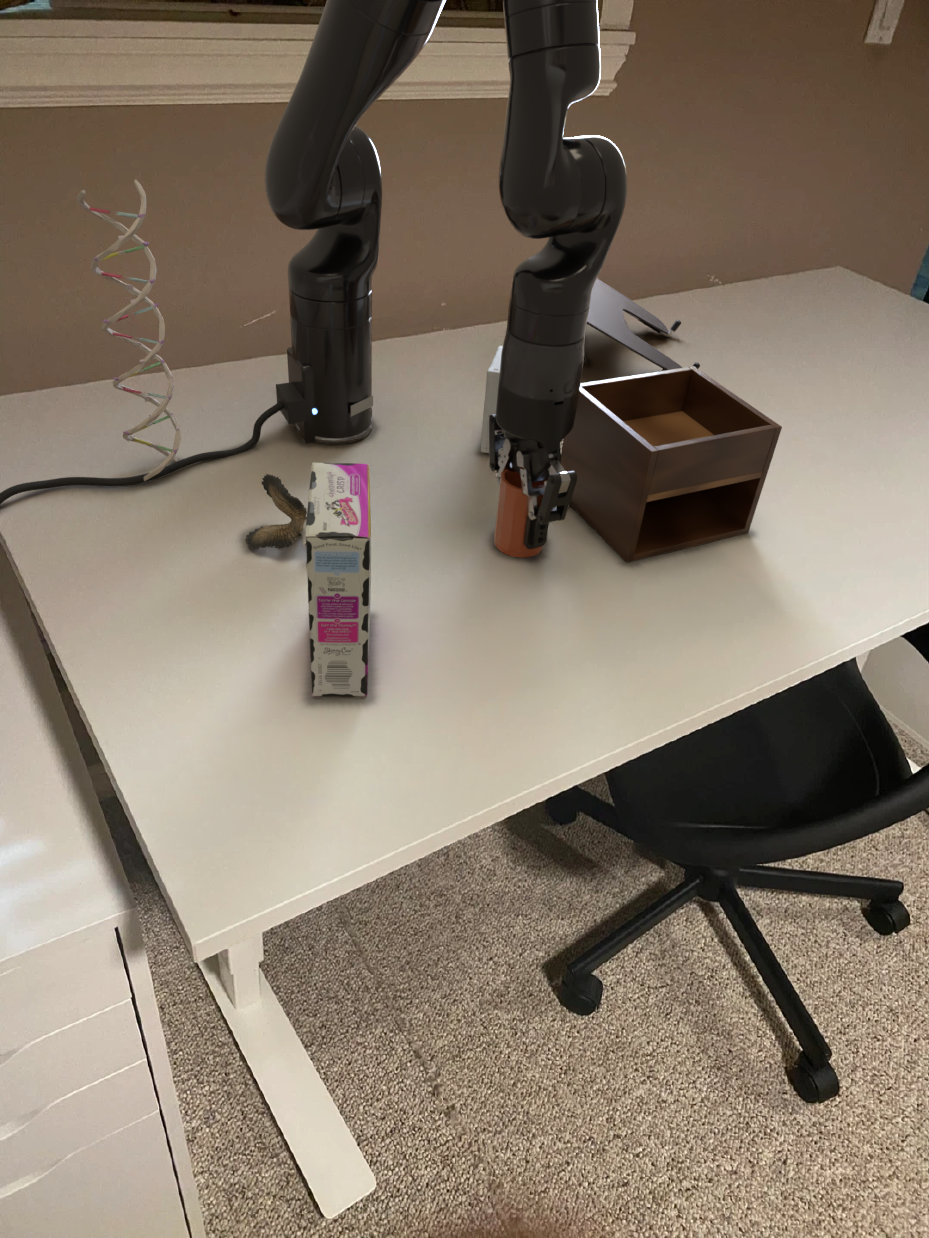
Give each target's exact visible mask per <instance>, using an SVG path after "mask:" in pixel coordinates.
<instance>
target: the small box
mask: <svg viewBox="0 0 929 1238" xmlns="http://www.w3.org/2000/svg"><path fill="white" fill-rule="evenodd" d="M496 348H497V349H496V351H495V354H494V356H493V359H492V361H491V364H490V366H489V368H488V369H487V371H486V379H485V380H486V381H485V392H484V393H485V394H484V403H483V414H482V415H483V416H482V427H481V440H480V452H481V453H485V454H489V416H490V415H493V414H496V405H497V394H498V384H499V374H500V363H501V354H502V348H503V345H498V346H497V347H496ZM503 449H504V448H501V449H499V452H498V456H501V454H502V451H503Z"/></svg>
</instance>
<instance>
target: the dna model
mask: <svg viewBox="0 0 929 1238" xmlns="http://www.w3.org/2000/svg"><path fill="white" fill-rule="evenodd" d="M133 184H134V186H135V188H136V189H135V190H137V192H138V193H137V194H138V195H139V197H140V203H141V204H140V208H139V213H138V214H136V213H129V212H124V211H123V212H121V211H117V212H115V215H116V216H121V217H125V218H132V219H135V220H134V222H133V223H132V224H131V225H130V227H129V228H127V226H125V225H124V224H123V223H122V222H120V221H117V220H115V219H113V217H112V218H111V217H110V216H108V215H106V214H111V212H112V213H113V212H114V211H113V210H112V211H110V210H108V209H102V208H97V207H96V208H95V207H91V206H90V205H89V204H88V203H87V202H86V201H85V196H86V192H87V191H86V190H85V189H83V190H81V191H80V192H79V193H78V194H77V195H76V199H77V203H78V204H79V206H80V207H81V208H82V210H84V211H85V212H87V213H90V214H91V215H93V216H95V217H97V218H99V219H100V220H102V221H104V222H105V223H107V224H108V225H110V226H112V227H114V228H116V229H117V230H118V231H120V232H121V233H123V234H124V235H118V236H117V237H118V238H117V240H116V241H115V242H114V243H113V244H111V245H110V246H109V247H107V248H106V249H105V250H104V251H102V252H101V253H99V254H97V255H96V256H94V257H93V259H92V262H91V263H90V267H89V269H90V270H91V271H92V272H93V273H94V274H95V275H96V276H99V277H101V278H103V279H105V280H108V281H110V282H112V283H114V284H117V285H119V286H120V287H121V288H123V289H124V290H125V291H127V292H128V293H130V294H132V295H133V296H134V297H136V298H133V299H130V303H129V304H127V305H126V306H125V307H123V308H122V309H120V310H119V311H118V312H116V313H115V314H114V315H112V316H110V317H109V318H105V319H101V322H103V323H102V324H101V331H103V332H104V333H105V334H107V335H108V336H110V337H112V338H115V339H119V340H121V341H124V342H125V343H128V344H129V345H132V346H133V347H135V348H138V349H139V350H140V351H142V352H144V353H145V354H146V355H145V357H144V358H142V359H139V363H138V364H137V365H136V366H134V367H132V368H131V369H130V370H128V371H125V372H124V373H123V374H121V375H119V376H117V377H111V379H112V386H113V388H115V389H117V390H119V391H123V392H127V393H129V394H131V395H134V396H137V397H140V398H142V399H144V402H145V403H147V402H150V403H151V404H152V405H154V406H156V409H155V410H154V411H153V412H152V413H151V414H148V417H147V418H145V419H144V420H143V421H141V422H140V423H138V424H137V425H135V426H134V427H132V428H130V429H127V430H124V431H122V438H123V439H124V440H125V441H126V442H134V443H137V444H142V445H145V446H148V447H150V448H152V449H154V450H156V451H158V453H160V454H162V455H164V456H166V457H165V459H164V460H163V461H162V462H161V463H160V464H158V466H157V467H155V468H154V469H153V470H151V471H150V472H148V473H149V474H147V475H146V476H144V481H146V480H148V479H150V478H151V477H153V476H155V475H156V474H158V473H160V472H161V471H162V470H163V469H164V468H165V467H166V466H168V465H170V464H171V462H172V461H173V463H175V462H177V461H179V459H178V458H176V457H175V456H177V455H176V454H177V453H178V451H179V448H180V444H181V440H182V436H181V428H180V427H181V426H180V425H179V422H178V420H177V418H176V415H174V413H173V412H172V411H171V410H170V409H169V408H168V407H167V406H168V405H169V403H170V401H171V399H172V397H173V394H174V388H175V384H174V378H173V374H172V371H171V370H170V368H169V365H168V364H167V362H166V361H165V360H164V359H163V358H162V357H161V356H160V355H158V352H159V351H160V350H161V348H162V347H163V344H164V343H165V334H166V324H165V319H164V318H163V315H162V313H161V312H160V309H159V308H158V306H159V305H160V303H158V302H153V300H151V299H150V298H149V297H148V295H149V294H150V293H151V292H152V291H151V290H152V289H153V287H154V284H155V283H156V278H157V273H158V268H157V263H156V259H155V257H154V256H153V253H152V251H151V249H150V248H149V245H150V244H151V242H149V241H144V240H143V239H142V238H140V236H139V235H137V234H136V233H137V232H138V231H139V230H140V228H141V226H142V224H143V222H144V220H145V217H146V213H147V195H146V191H145V189H144V188H143V186H142V184H141V183H140V182H139V180H137V179H134V181H133ZM130 240H132V241H133V242H134V243H135V244H137V245H138V246H135V247H132V248H129V249H125V250H121V251H117V250H118V249H119V248H121V247H123V245H125V244H126V243H127V242H128V241H130ZM139 250H143V252H144V254H145V257H146V258H147V259H148V262H149V264H150V266H149V267H150V268H149V279H147V280H146V279H141V278H137V277H132V276H127V277H125V276H123V275H122V274H117V273H116V274H115V273H112V272H105V271H103V270H102V269H100V267H99V263H100V262H101V261H104V260H108V259H111V258H114V257H117V256H120V255H121V256H122V255H124V254H128V253H132V252H136V251H139ZM116 251H117V252H116ZM124 277H125V278H124ZM120 279H124V280H129V281H131V282H137V283H142V284H145V286H144V287H143V288H142V290H140V289H138V288H136V287H134V284H131V283H125V282H124V281H122V280H120ZM141 302H143V303H145V304H146V305H147V306H148V307H145V308H142V309H140V310H137V311H134V312H133V315H131V317H133V316H136V315H139V314H143V313H146V312H149V311H152V312H153V313H154V315H155V316H156V318H157V320H158V324H159V326H158V328H159V330H158V340H156V339H150V338H144V337H139V338H138V337H137V336H135V338H133V336H132V335H129V334H123V333H120V332H118V331H115V330H113V329H111V328H110V326H111V325H113V324H114V323H116V322H119V321H122V320H125V319H128V318H129V317H130V315H129V313H130V312H131V311H133V310H134V309H135V308H137V307H138V306H139V305H140V304H141ZM140 341H141V342H140ZM142 342H145V343H149V344H154V345H155V346H154V347H152V349H151V348H149V347H148V346H146V345H145V344H144V343H142ZM153 360H154V361H156V362H155V363H153V364H151V365H148V364H150V363H151V362H152V361H153ZM147 365H148V366H147ZM158 366H160V367H161V369H162V372H163V373H164V375H165V376H166V378H167V380H168V381H167V382H168V385H167V390H166V394H165V395H163V394H157V393H152V392H145V391H141V390H137V389H134V388H131V387H129V386H126V385H123V384H121V383H122V382H124V381H125V380H126V379H128V378H131V377H134V376H137V375H138V374H141V373H143V372H146V371H148V370H150V369H153V368H156V367H158ZM157 398H159V399H164V400H163V401H162V402H160V400H158V399H157ZM163 413H164V414H166V416H163V417H161V418H159V417H160V416H161V414H163ZM158 418H159V419H158ZM169 419H170V421H171V424H172V426H173V428H174V430H175V436H174V441H173V445H172V448H169V447H165V446H161V445H160V444H157V443H154V442H153V441H151V440H148V439H145V438H141V437H136V435H134V434H135V433H138V432H140V431H142V430H145V429H148V428H149V427H152V426H153V425H156V424H159V423H160V422H164V421H166V420H169Z"/></svg>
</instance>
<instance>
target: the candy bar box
mask: <svg viewBox="0 0 929 1238" xmlns="http://www.w3.org/2000/svg"><path fill="white" fill-rule="evenodd" d="M310 471H311V472H310V479H309V489H308V500H307V507H306V511H307V514H306V517H307V520H306V534H305V537H306V545H305V547H306V574H307V575H306V576H307V596H308V597H307V598H308V599H307V603H308V629H309V630H308V631H309V653H310V655H309V656H310V679H311V682H310V683H311V693H310V694H311V695H310V696H311V697H312V698H351V699H353V698H366V697H367V696H368V690H369V689H368V688H369V687H368V686H369V667H370V666H369V665H370V635H371V634H370V633H371V600H372V599H371V598H372V597H371V596H372V595H371V593H372V591H371V589H372V517H371V516H372V515H371V512H372V511H371V485H370V484H371V483H370V481H371V479H370V464H369V463H357V462H356V463H353V462H312V463H311V469H310Z"/></svg>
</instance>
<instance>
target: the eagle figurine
mask: <svg viewBox="0 0 929 1238" xmlns="http://www.w3.org/2000/svg"><path fill="white" fill-rule="evenodd" d="M261 479H262V480H261V485H262V487H263V488H262V489H263V490H264V491H265V492H266V495H267V496H268V497H269V498H271V500H272V502H273V504H274V506H275V507H276V508H277V509H278V510H279V511H280V512H281V513H283V514H284V515H286V516H287V517H288V518H290V521H289V522H288V523H284V524H281V523H280V524H267V525H262V526H260V527H258V528H255V529H254V530H251V531H250V532H248V534H246V536H245V537H246V538H245V541H246V545H247V546H248V548H251V549H253V550H254V549H256V550H259V549H260V548H261V549H262V548H263V549H265V548H275V549H278V550H281V549H284V548H289V547H290V546H292V545H293V543H294V542H295V541H296V540H297V539H299V538H301V542H302V546H303V547H304V546H306V537H305V534H306V520H307V507H305V504H304V503H303V502H302V501H301V500H300V499H299V497H297V496H293V495H291V493H290V492H289V490H288V489H287V488H286V487H285V484H283V481H282V479H281V478H279V476H276V475H273V474H270V473H269V474H268V473H266V474H265V475H264V476H263V477H262V478H261Z"/></svg>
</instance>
